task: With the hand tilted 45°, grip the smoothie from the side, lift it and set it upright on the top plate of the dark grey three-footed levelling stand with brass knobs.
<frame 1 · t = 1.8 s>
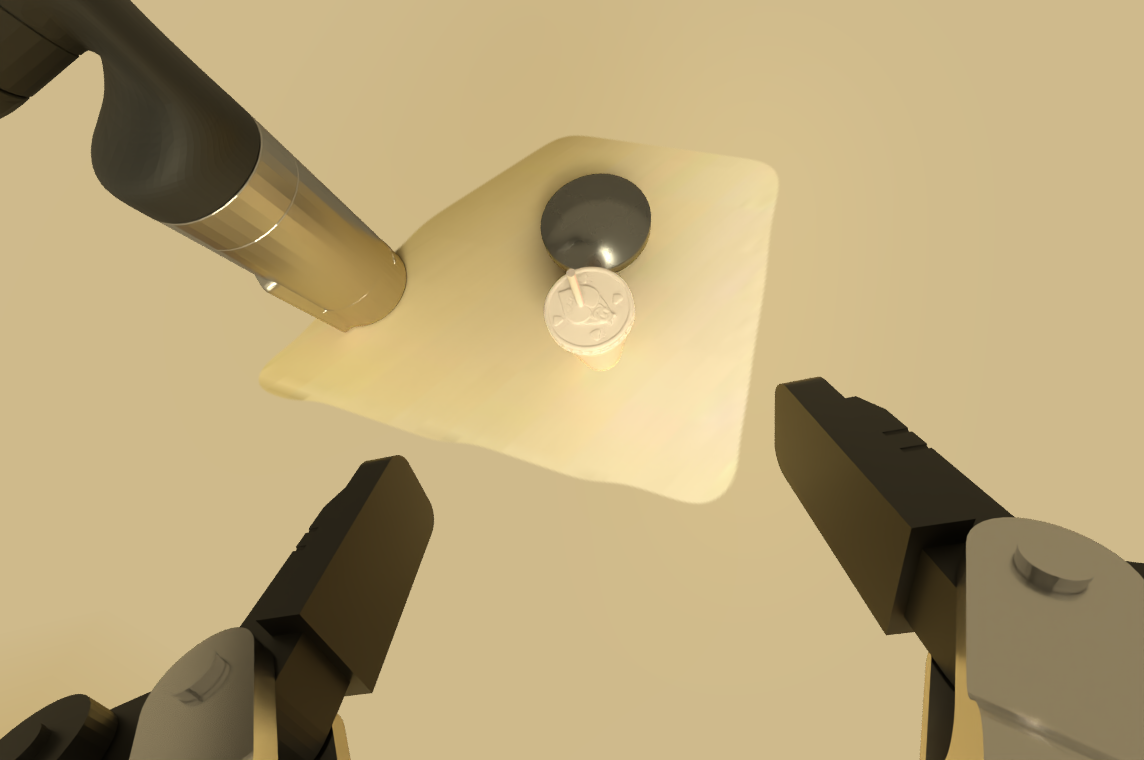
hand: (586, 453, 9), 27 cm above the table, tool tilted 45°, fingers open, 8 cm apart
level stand: (598, 240, 41), on the table
smoothie: (601, 352, 38), on the table
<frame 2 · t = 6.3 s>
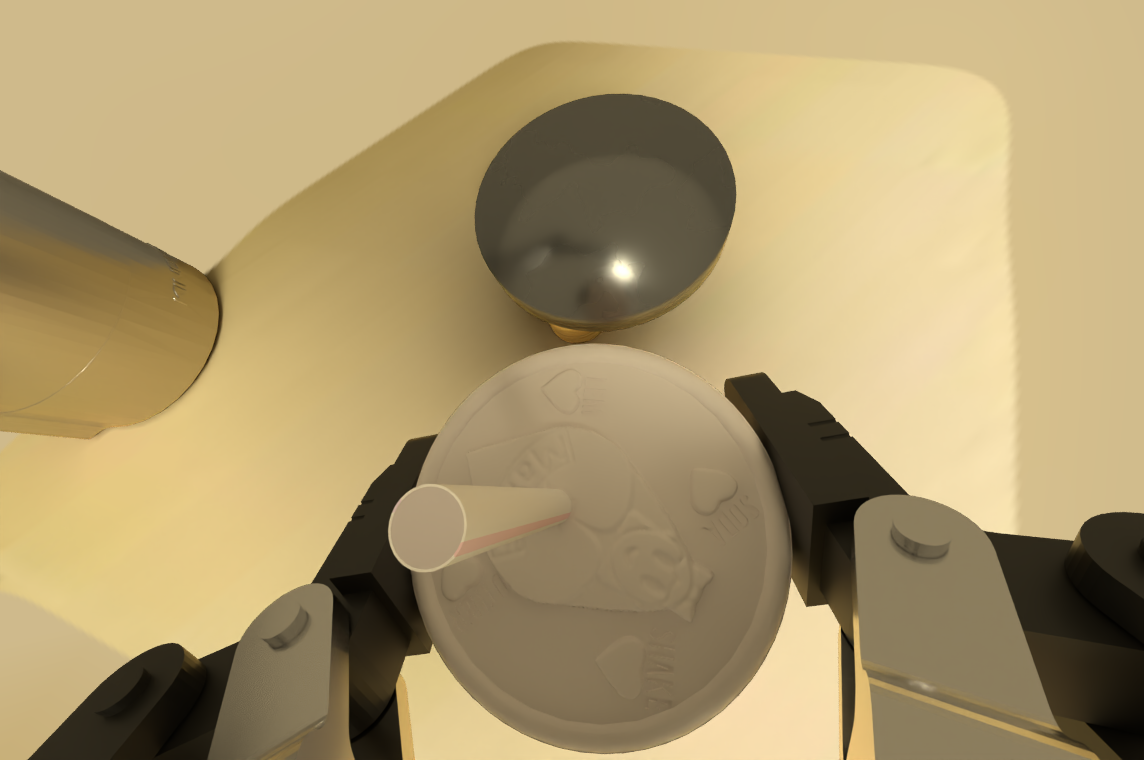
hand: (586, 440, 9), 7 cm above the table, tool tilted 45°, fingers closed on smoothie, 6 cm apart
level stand: (605, 245, 19), on the table
smoothie: (619, 505, 16), on the table, touching gripper
when the fingers open (12 cm above the table, at t = 11.7 s): smoothie drops 1 cm, resting on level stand.
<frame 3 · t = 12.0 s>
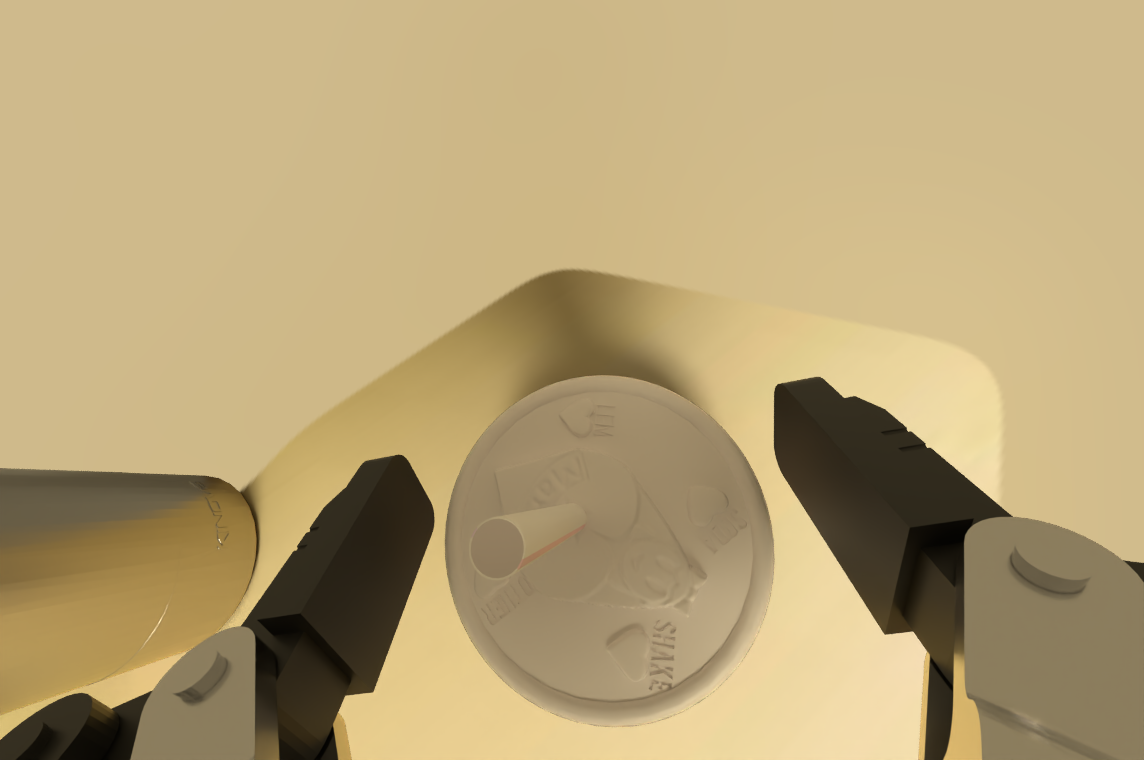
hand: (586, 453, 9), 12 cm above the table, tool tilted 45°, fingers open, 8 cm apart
smoothie: (623, 509, 17), point 3 cm above the table, touching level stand
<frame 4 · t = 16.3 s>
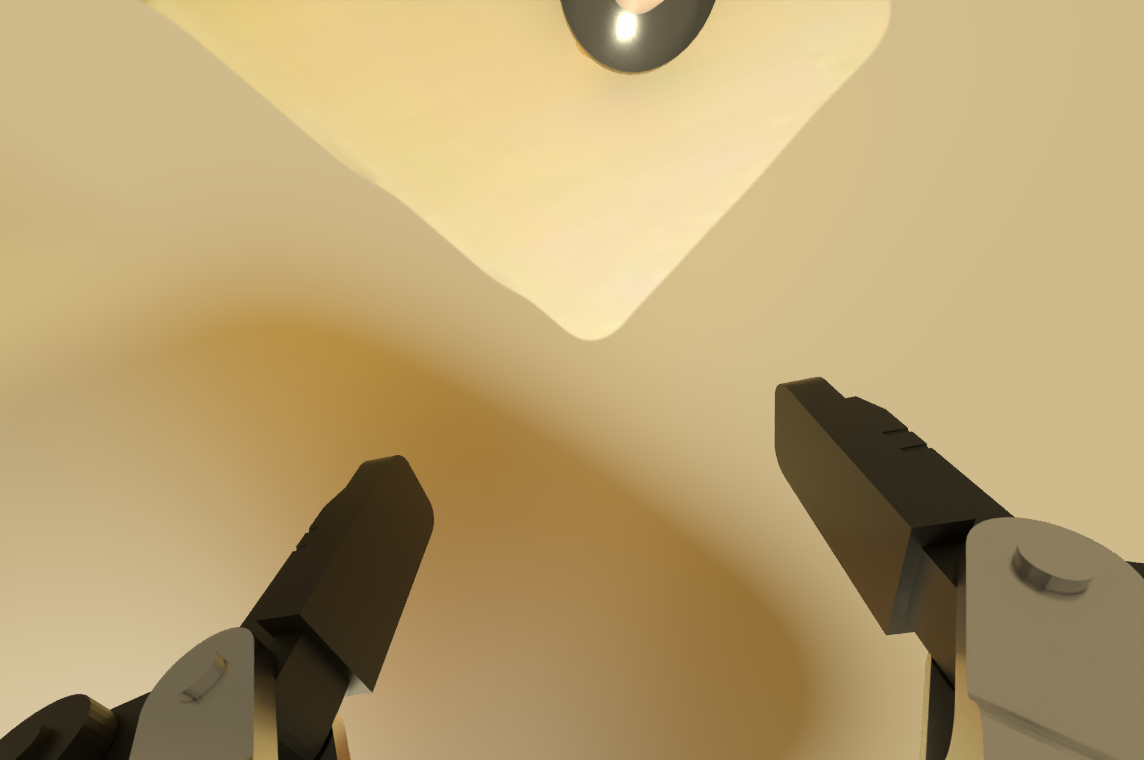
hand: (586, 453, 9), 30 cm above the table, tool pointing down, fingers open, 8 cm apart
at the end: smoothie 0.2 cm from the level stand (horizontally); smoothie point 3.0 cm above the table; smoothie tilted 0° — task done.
